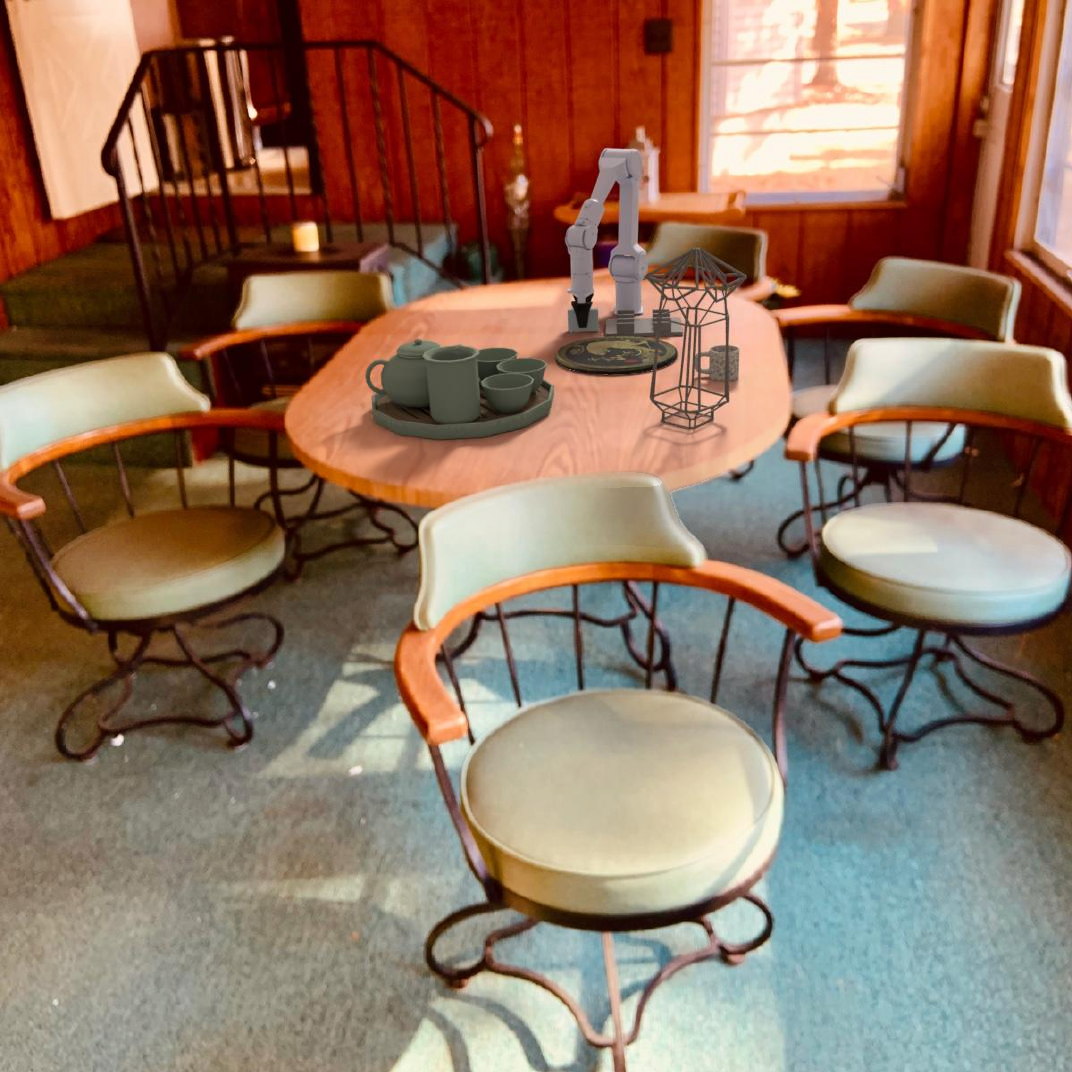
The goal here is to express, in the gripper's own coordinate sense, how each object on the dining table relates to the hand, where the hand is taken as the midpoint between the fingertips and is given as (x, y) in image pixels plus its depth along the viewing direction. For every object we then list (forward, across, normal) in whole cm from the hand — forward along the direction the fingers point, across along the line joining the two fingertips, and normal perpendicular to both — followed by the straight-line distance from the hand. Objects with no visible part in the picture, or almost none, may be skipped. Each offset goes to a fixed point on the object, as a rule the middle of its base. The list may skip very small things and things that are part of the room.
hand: (583, 323), depth 286 cm
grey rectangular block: (+2, 0, 0) cm, 2 cm away
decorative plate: (+2, +25, +9) cm, 27 cm away
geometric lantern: (+2, +72, +25) cm, 76 cm away
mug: (+2, +43, +32) cm, 54 cm away
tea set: (+3, +61, -24) cm, 66 cm away
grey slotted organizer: (+2, 0, +16) cm, 16 cm away
